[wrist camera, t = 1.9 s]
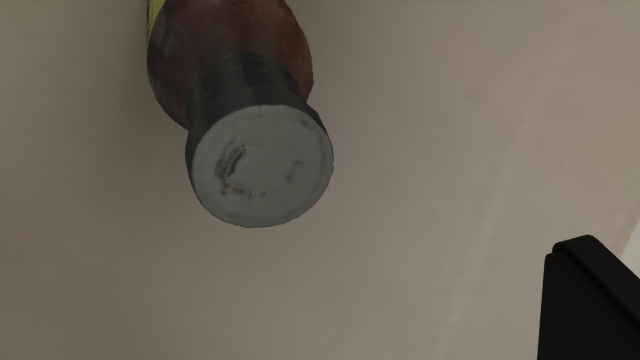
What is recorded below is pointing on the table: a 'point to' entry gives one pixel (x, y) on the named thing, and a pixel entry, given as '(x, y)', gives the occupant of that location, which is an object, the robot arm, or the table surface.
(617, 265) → the robot arm
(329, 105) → the table surface
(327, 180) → the sauce bottle
